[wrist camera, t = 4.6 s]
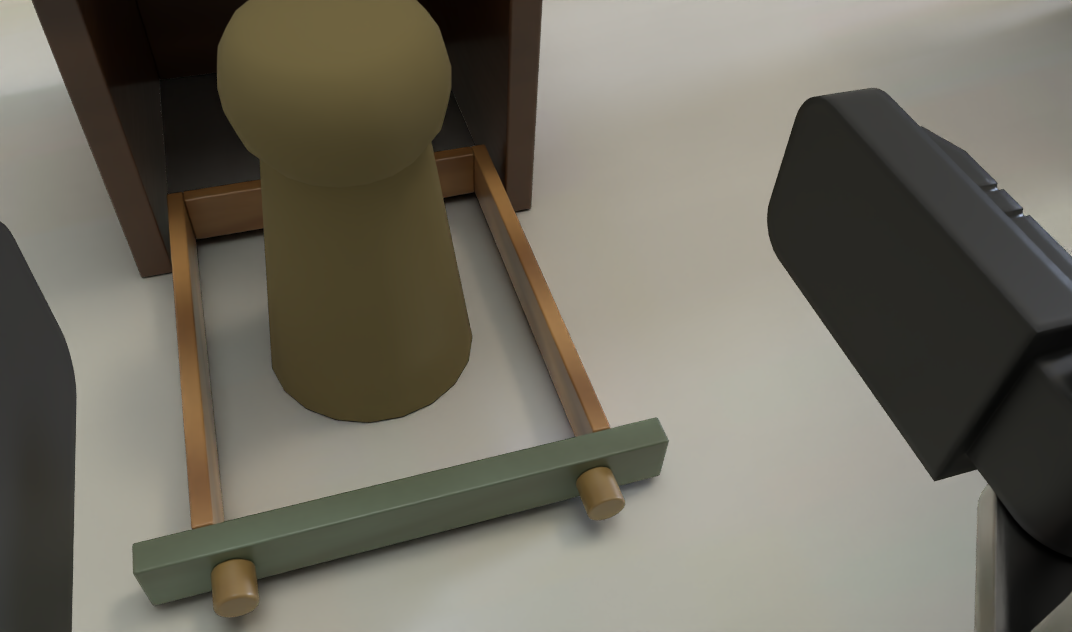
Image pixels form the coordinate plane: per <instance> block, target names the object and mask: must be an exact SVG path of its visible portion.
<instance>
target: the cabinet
mask: <svg viewBox="0 0 1072 632" xmlns="http://www.w3.org/2000/svg"><path fill="white" fill-rule="evenodd" d="M247 1H248V0H32V3H33V5H34V8H35V10H36V13H37V15H38V18H39V20H40V23H41V25H42V28H43V30H44V33H45V35H46V38H47V40H48V43H49V45H50V48H51V51H52V53H53V56H54V58H55V61H56V63H57V66H58V68H59V71H60V73H61V76H62V78H63V81H64V83H65V86H66V88H67V91H68V93H69V96H70V98H71V101H72V103H73V106H74V108H75V111H76V113H77V116H78V119H79V121H80V124H81V126H82V129H83V131H84V134H85V136H86V139H87V141H88V144H89V146H90V149H91V151H92V154H93V156H94V159H95V161H96V164H97V166H98V169H99V171H100V174H101V176H102V179H103V181H104V184H105V186H106V189H107V192H108V194H109V197H110V199H111V202H112V204H113V207H114V209H115V212H116V214H117V217H118V219H119V222H120V224H121V227H122V229H123V232H124V234H125V237H126V239H127V242H128V244H129V247H130V249H131V252H132V254H133V257H134V260H135V262H136V265H137V267H138V270H139V272H140V275H141V277H148V276H154V275H159V274H165V273H171V272H172V261H171V248H170V234H169V221H168V208H167V194H168V185H167V172H166V159H165V146H164V133H163V120H162V107H161V94H160V81H159V79H160V80H165V79H173V78H181V77H189V76H196V75H204V74H212V73H217V51H218V45H219V42H220V40H221V38H222V36H223V33H224V31H225V29H226V27H227V25H228V23H229V21H230V20H231V18H232V16H233V14H234V13H235V11H236V10H237V9H238V8H239V7H241V6H242V5H243V4H244V3H246V2H247ZM417 1H418V2H419V3H420V4H421V5H422V6H423V7H424V8H425V9H426V10H427V12H428V13H429V14H430V16H431V17H432V18H433V20H434V21H435V22H436V24H437V25H438V26H439V29H440V32H441V35H442V38H443V41H444V44H445V47H446V51H447V54H448V57H449V61H450V64H451V90H452V92H453V94H454V97H455V99H456V101H457V104H458V106H459V108H460V111H461V113H462V115H463V118H464V120H465V122H466V124H467V127H468V129H469V131H470V134H471V136H472V138H473V141H474V143H475V145H482V144H484V145H485V146H486V148H487V151H488V153H489V155H490V157H491V160H492V162H493V164H494V166H495V169H496V171H497V173H498V175H499V178H500V180H501V182H502V184H503V187H504V189H505V191H506V193H507V196H508V198H509V200H510V202H511V205H512V207H513V209H514V211H519V210H524V209H529V208H531V199H532V181H533V163H534V145H535V126H536V108H537V90H538V72H539V54H540V36H541V17H542V0H417Z"/></svg>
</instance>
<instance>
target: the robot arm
mask: <svg viewBox="0 0 1072 632" xmlns="http://www.w3.org/2000/svg"><path fill="white" fill-rule="evenodd" d="M767 224H768V232H769V237H770V241H771V244H772V247H773V250H774V252H775V254H776V256H777V257H778V259H779V261H780V262H781V263H782V265H783V266H784V268H785V269H786V271H787V272H788V273H789V275H790V276H791V278H792V279H793V281H794V282H795V283H796V285H797V286H798V288H799V289H800V290H801V292H802V293H803V295H804V296H805V298H806V299H807V300H808V302H809V303H810V305H811V306H812V308H813V309H814V310H815V312H816V313H817V315H818V316H819V318H820V319H821V320H822V322H823V323H824V325H825V326H826V328H827V329H828V330H829V332H830V333H831V335H832V336H833V338H834V339H835V340H836V342H837V343H838V345H839V346H840V348H841V349H842V350H843V352H844V353H845V355H846V356H847V357H848V359H849V360H850V362H851V363H852V365H853V366H854V367H855V369H856V370H857V372H858V373H859V375H860V376H861V377H862V379H863V380H864V382H865V383H866V385H867V386H868V387H869V389H870V390H871V392H872V393H873V395H874V396H875V397H876V399H877V400H878V402H879V403H880V405H881V406H882V407H883V409H884V410H885V412H886V413H887V415H888V416H889V417H890V419H891V420H892V422H893V423H894V424H895V426H896V427H897V429H898V430H899V432H900V433H901V434H902V436H903V437H904V439H905V440H906V442H907V443H908V444H909V446H910V447H911V449H912V450H913V452H914V453H915V454H916V456H917V457H918V459H919V460H920V462H921V463H922V464H923V466H924V467H925V469H926V470H927V472H928V473H929V474H930V476H931V477H932V479H933V480H934V481H938V480H941V479H945V478H948V477H952V476H955V475H959V474H963V473H966V472H970V471H973V470H977V469H978V471H979V472H980V473H981V475H982V476H983V477H984V479H985V480H986V481H987V483H988V484H987V486H986V487H985V488H984V490H983V491H982V492H981V495H980V497H979V500H978V507H977V541H976V584H975V626H974V632H1072V257H1071V256H1070V255H1069V254H1068V253H1067V252H1066V251H1065V250H1064V249H1063V248H1062V247H1061V246H1060V245H1059V244H1058V243H1057V242H1056V241H1055V240H1054V239H1053V238H1052V237H1051V236H1050V235H1049V234H1048V233H1047V232H1046V231H1045V230H1044V229H1043V228H1042V227H1041V226H1040V225H1039V224H1038V223H1037V222H1036V221H1035V220H1034V219H1033V218H1032V217H1031V216H1030V215H1029V216H1024V215H1023V208H1022V207H1021V206H1020V205H1019V204H1018V203H1017V202H1016V201H1015V200H1014V199H1013V198H1012V197H1011V196H1010V195H1009V194H1008V193H1007V192H1006V191H1005V190H1004V189H1002V190H998V189H997V182H996V181H995V180H994V179H993V178H992V177H991V176H990V175H989V174H988V173H987V172H986V171H985V170H984V169H983V168H982V167H981V166H980V165H979V164H978V163H977V162H976V161H975V160H974V159H973V158H972V157H971V156H970V155H969V154H968V153H967V152H966V151H964V150H962V149H961V148H959V147H957V146H955V145H954V144H952V143H950V142H948V141H947V140H945V139H943V138H941V137H940V136H938V135H936V134H934V133H933V132H931V131H929V130H928V129H926V128H924V127H922V126H921V127H920V126H919V125H918V124H917V123H916V122H915V121H914V120H913V119H912V118H911V117H910V116H909V115H908V114H907V113H906V112H905V111H904V110H903V109H902V108H901V107H900V106H899V105H898V104H897V103H896V102H895V101H894V100H893V99H892V98H891V97H890V96H889V95H888V94H887V93H886V92H884V91H882V90H880V89H877V88H868V89H861V90H855V91H848V92H842V93H835V94H829V95H822V96H816V97H812V98H809V99H808V100H806V101H805V102H804V103H803V104H802V106H801V107H800V109H799V111H798V113H797V115H796V118H795V121H794V125H793V128H792V131H791V134H790V137H789V141H788V144H787V147H786V150H785V154H784V157H783V160H782V163H781V166H780V170H779V173H778V176H777V179H776V183H775V186H774V189H773V192H772V196H771V199H770V202H769V206H768V213H767ZM75 443H76V383H75V375H74V370H73V365H72V360H71V356H70V353H69V349H68V346H67V343H66V341H65V338H64V335H63V333H62V331H61V329H60V327H59V325H58V323H57V321H56V319H55V317H54V315H53V313H52V311H51V309H50V307H49V306H48V304H47V302H46V300H45V298H44V296H43V294H42V292H41V290H40V288H39V286H38V284H37V282H36V280H35V278H34V276H33V274H32V272H31V270H30V268H29V266H28V264H27V262H26V260H25V258H24V257H23V255H22V253H21V251H20V249H19V247H18V245H17V243H16V241H15V239H14V237H13V235H12V234H11V232H10V231H9V229H8V228H7V227H6V226H5V225H4V224H3V223H2V222H0V632H72V589H73V540H74V491H75Z"/></svg>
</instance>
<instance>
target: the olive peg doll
mask: <svg viewBox="0 0 1072 632" xmlns="http://www.w3.org/2000/svg"><path fill="white" fill-rule="evenodd" d="M217 89H218V93H219V97H220V100H221V104H222V108H223V111H224V113H225V115H226V117H227V118H228V120H229V122H230V123H231V125H232V127H233V128H234V130H235V132H236V133H237V135H238V137H239V138H240V140H241V141H242V143H243V144H244V146H245V147H246V149H247V150H248V151H249V152H250V153H252V154H253V155H254V156H256V157H257V158H259V160H260V177H261V194H262V210H263V227H264V243H265V260H266V276H267V293H268V309H269V326H270V343H271V357H272V369H273V370H274V372H275V374H276V376H277V378H278V380H279V381H280V383H281V385H282V387H283V389H284V391H286V392H287V393H288V394H289V395H291V396H292V397H293V398H294V399H295V400H297V401H298V402H299V403H300V404H302V405H303V406H304V407H305V408H307V409H309V410H312V411H314V412H317V413H320V414H322V415H325V416H328V417H330V418H333V419H336V420H348V421H360V422H374V421H379V420H385V419H391V418H397V417H403V416H405V415H407V414H409V413H411V412H414V411H416V410H418V409H420V408H422V407H425V406H427V405H429V404H431V403H433V402H434V401H435V400H436V399H438V398H439V397H440V396H441V395H442V394H443V393H445V392H446V391H447V390H448V389H449V388H450V387H452V386H453V385H454V384H455V383H456V381H457V379H458V378H459V376H460V374H461V373H462V371H463V369H464V368H465V366H466V364H467V362H468V361H469V354H470V348H471V342H472V333H471V329H470V324H469V319H468V314H467V310H466V305H465V300H464V295H463V290H462V286H461V281H460V276H459V271H458V267H457V262H456V257H455V252H454V247H453V243H452V238H451V233H450V228H449V224H448V219H447V214H446V209H445V204H444V200H443V195H442V190H441V185H440V181H439V176H438V171H437V166H436V161H435V157H434V152H433V147H432V142H431V141H432V140H433V139H434V138H435V137H436V135H437V134H438V133H439V132H440V130H441V128H442V125H443V121H444V117H445V113H446V110H447V106H448V101H449V97H450V93H451V64H450V61H449V57H448V54H447V51H446V47H445V44H444V41H443V38H442V35H441V32H440V29H439V26H438V25H437V24H436V22H435V21H434V20H433V18H432V17H431V16H430V14H429V13H428V12H427V10H426V9H425V8H424V7H423V6H422V5H421V4H420V3H419V2H418V1H417V0H248V1H247V2H246V3H244V4H243V5H242V6H241V7H239V8H238V9H237V10H236V11H235V13H234V14H233V16H232V18H231V20H230V21H229V23H228V25H227V27H226V29H225V31H224V33H223V36H222V38H221V40H220V42H219V45H218V51H217Z"/></svg>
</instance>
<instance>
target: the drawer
mask: <svg viewBox="0 0 1072 632" xmlns="http://www.w3.org/2000/svg"><path fill="white" fill-rule="evenodd" d="M434 157H435V161H436V166H437V171H438V176H439V181H440V185H441V190H442V195H443V198H444V197H450V196H456V195H462V194H468V193H473V192H474V191H475V194H476V196H477V198H478V201H479V203H480V206H481V208H482V211H483V213H484V215H485V218H486V220H487V223H488V225H489V228H490V230H491V233H492V235H493V237H494V240H495V242H496V245H497V247H498V250H499V252H500V254H501V257H502V259H503V262H504V264H505V267H506V269H507V271H508V274H509V276H510V279H511V281H512V284H513V286H514V288H515V291H516V293H517V296H518V298H519V301H520V303H521V306H522V308H523V310H524V313H525V315H526V318H527V320H528V323H529V325H530V327H531V330H532V332H533V335H534V337H535V340H536V342H537V344H538V347H539V349H540V352H541V354H542V357H543V359H544V362H545V364H546V366H547V369H548V371H549V374H550V376H551V379H552V381H553V383H554V386H555V388H556V391H557V393H558V396H559V398H560V400H561V403H562V405H563V408H564V410H565V413H566V415H567V418H568V420H569V422H570V425H571V427H572V430H573V432H574V435H575V437H573V438H569V439H565V440H561V441H557V442H552V443H548V444H544V445H540V446H536V447H532V448H528V449H523V450H519V451H515V452H511V453H507V454H503V455H499V456H494V457H490V458H486V459H482V460H478V461H474V462H470V463H465V464H461V465H457V466H453V467H449V468H445V469H441V470H436V471H432V472H428V473H424V474H420V475H416V476H412V477H407V478H403V479H399V480H395V481H391V482H387V483H383V484H379V485H374V486H370V487H366V488H362V489H358V490H354V491H350V492H345V493H341V494H337V495H333V496H329V497H325V498H321V499H316V500H312V501H308V502H304V503H300V504H296V505H292V506H287V507H283V508H279V509H275V510H271V511H267V512H263V513H258V514H254V515H250V516H246V517H242V518H238V519H234V520H229V521H225V522H224V512H223V502H222V492H221V482H220V473H219V463H218V453H217V443H216V433H215V423H214V414H213V404H212V394H211V384H210V374H209V365H208V355H207V345H206V335H205V325H204V315H203V306H202V296H201V286H200V276H199V266H198V256H197V247H196V239H203V238H209V237H215V236H220V235H226V234H232V233H238V232H244V231H250V230H256V229H262V228H264V227H263V210H262V194H261V179H259V180H253V181H246V182H240V183H234V184H227V185H221V186H215V187H208V188H202V189H195V190H189V191H184V192H183V193H182V192H176V193H170V194H167V208H168V221H169V234H170V248H171V261H172V274H173V288H174V301H175V314H176V328H177V341H178V355H179V368H180V381H181V395H182V408H183V421H184V435H185V448H186V461H187V475H188V488H189V501H190V515H191V528H192V530H188V531H184V532H180V533H176V534H171V535H167V536H163V537H159V538H155V539H151V540H147V541H142V542H138V543H134V544H133V546H132V553H133V574H134V576H135V577H136V579H137V581H138V582H139V584H140V585H141V587H142V589H143V590H144V592H145V593H146V595H147V597H148V598H149V600H150V601H151V603H152V605H154V606H156V605H160V604H164V603H167V602H171V601H175V600H179V599H183V598H187V597H191V596H195V595H198V594H202V593H206V592H210V591H212V597H213V609H214V611H215V613H216V614H217V615H219V616H222V617H237V616H241V615H245V614H247V613H249V612H251V611H253V610H254V609H255V608H256V607H257V606H258V604H259V592H258V583H257V579H260V578H264V577H268V576H272V575H276V574H280V573H284V572H288V571H291V570H295V569H299V568H303V567H307V566H311V565H315V564H319V563H322V562H326V561H330V560H334V559H338V558H342V557H346V556H350V555H353V554H357V553H361V552H365V551H369V550H373V549H377V548H381V547H384V546H388V545H392V544H396V543H400V542H404V541H408V540H412V539H415V538H419V537H423V536H427V535H431V534H435V533H439V532H443V531H446V530H450V529H454V528H458V527H462V526H466V525H470V524H474V523H477V522H481V521H485V520H489V519H493V518H497V517H501V516H505V515H508V514H512V513H516V512H520V511H524V510H528V509H532V508H536V507H539V506H543V505H547V504H551V503H555V502H559V501H563V500H567V499H570V498H574V497H578V496H580V497H581V500H582V502H583V505H584V507H585V510H586V512H587V515H588V517H589V518H590V519H592V520H604V519H608V518H610V517H612V516H614V515H616V514H618V513H619V512H620V511H621V510H622V509H623V508H624V506H625V500H624V498H623V496H622V493H621V491H620V489H619V486H621V485H625V484H629V483H632V482H636V481H640V480H644V479H648V478H652V477H656V476H659V475H660V471H661V468H662V464H663V460H664V457H665V453H666V449H667V446H668V442H669V440H668V438H667V436H666V434H665V432H664V430H663V428H662V426H661V424H660V422H659V420H658V418H652V419H648V420H644V421H639V422H635V423H631V424H627V425H623V426H619V427H615V428H610V425H609V423H608V421H607V418H606V416H605V414H604V412H603V409H602V407H601V405H600V403H599V400H598V398H597V396H596V394H595V391H594V389H593V387H592V385H591V382H590V380H589V378H588V376H587V373H586V371H585V369H584V367H583V364H582V362H581V360H580V358H579V355H578V353H577V351H576V349H575V346H574V344H573V342H572V340H571V337H570V335H569V333H568V331H567V328H566V326H565V324H564V322H563V319H562V317H561V315H560V313H559V310H558V308H557V306H556V304H555V301H554V299H553V297H552V295H551V292H550V290H549V288H548V286H547V283H546V281H545V279H544V277H543V274H542V272H541V270H540V268H539V265H538V263H537V261H536V259H535V256H534V254H533V252H532V250H531V247H530V245H529V243H528V241H527V238H526V236H525V234H524V232H523V229H522V227H521V225H520V223H519V220H518V218H517V216H516V214H515V211H514V209H513V207H512V205H511V202H510V200H509V198H508V196H507V193H506V191H505V189H504V187H503V184H502V182H501V180H500V178H499V175H498V173H497V171H496V169H495V166H494V164H493V162H492V160H491V157H490V155H489V153H488V151H487V148H486V146H485V145H484V144H482V145H475V146H472V147H462V148H456V149H450V150H443V151H437V152H434Z"/></svg>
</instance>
